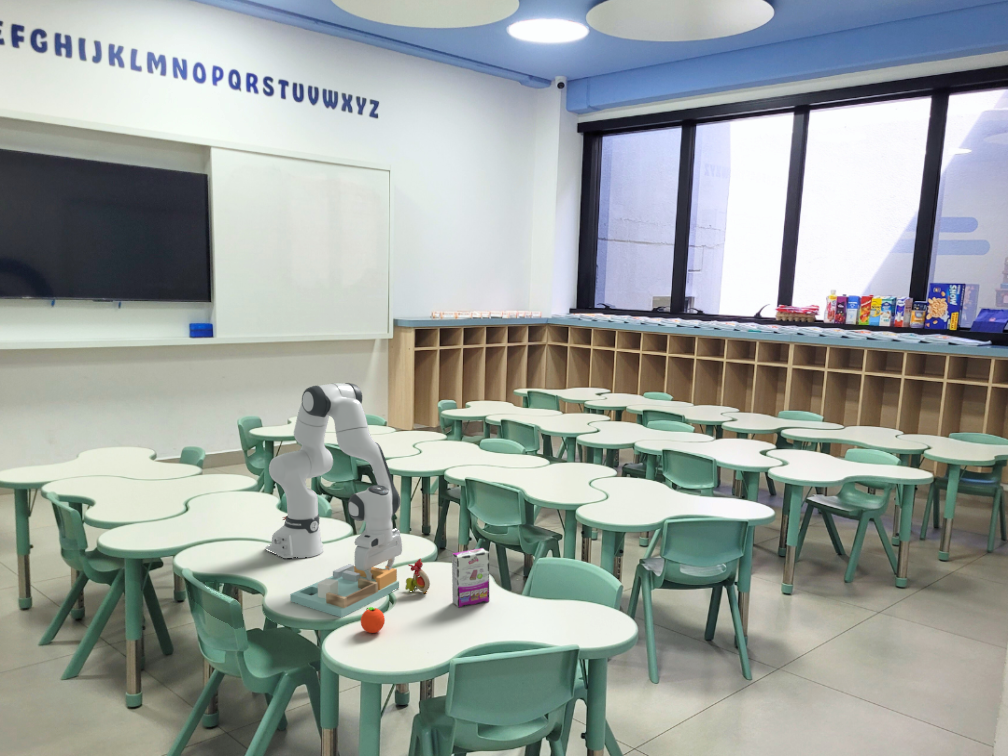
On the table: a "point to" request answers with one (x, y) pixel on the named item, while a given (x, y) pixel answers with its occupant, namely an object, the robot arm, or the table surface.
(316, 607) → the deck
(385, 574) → the rake
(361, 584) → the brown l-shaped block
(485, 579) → the candy bar box
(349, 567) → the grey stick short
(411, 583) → the bird rattle
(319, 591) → the cube
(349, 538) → the table surface
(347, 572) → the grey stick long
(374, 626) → the clementine
